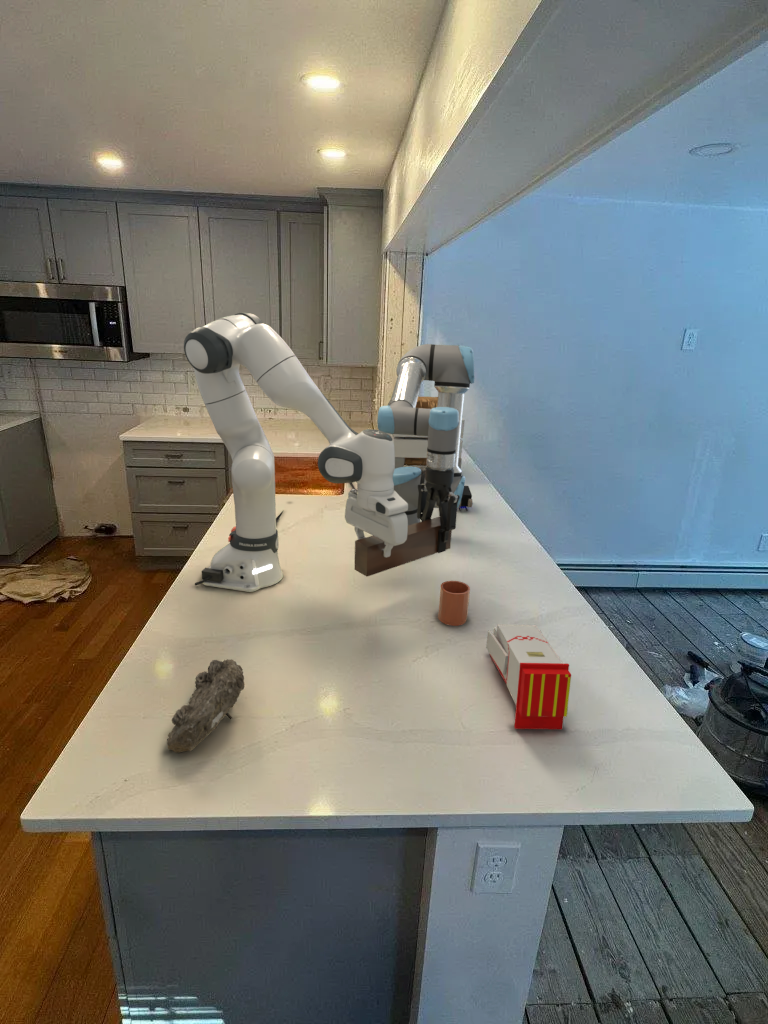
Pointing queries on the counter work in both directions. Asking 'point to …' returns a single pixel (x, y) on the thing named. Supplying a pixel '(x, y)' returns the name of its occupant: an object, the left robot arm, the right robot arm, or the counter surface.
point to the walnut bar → (398, 548)
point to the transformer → (417, 441)
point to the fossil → (206, 705)
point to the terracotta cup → (453, 603)
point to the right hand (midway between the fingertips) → (433, 547)
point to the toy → (531, 675)
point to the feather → (278, 517)
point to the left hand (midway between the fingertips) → (373, 549)
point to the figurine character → (466, 499)
